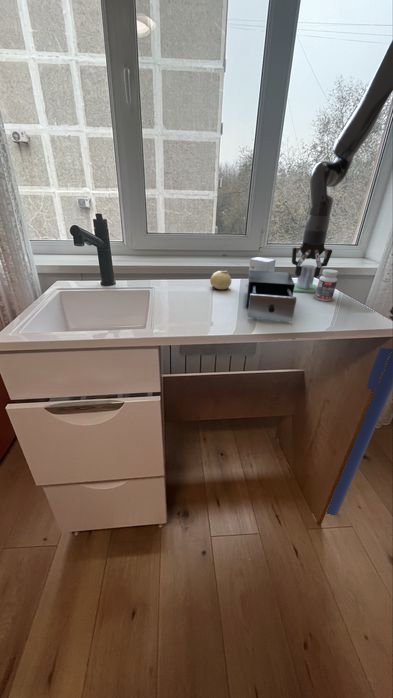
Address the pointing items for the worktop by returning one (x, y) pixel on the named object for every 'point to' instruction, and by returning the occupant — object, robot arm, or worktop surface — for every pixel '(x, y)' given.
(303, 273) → the steel tumbler
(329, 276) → the pill bottle
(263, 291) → the drawer
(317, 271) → the robot arm
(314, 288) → the drying pad
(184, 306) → the worktop surface
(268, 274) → the box
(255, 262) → the small box
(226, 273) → the onion
